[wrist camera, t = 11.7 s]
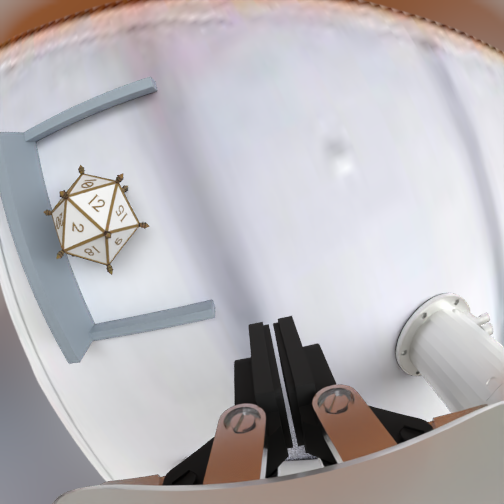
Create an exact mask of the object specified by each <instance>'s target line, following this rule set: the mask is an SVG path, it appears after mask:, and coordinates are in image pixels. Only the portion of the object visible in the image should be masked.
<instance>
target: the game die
mask: <svg viewBox="0 0 504 504" xmlns="http://www.w3.org/2000/svg"><path fill="white" fill-rule="evenodd" d="M78 170H79V173H80V174H81V175H80V176H79V177H78V178H77V180H76V181H75V182H74V183H73V185H72V186H71V187H70V188H69V190H68V191H67V192H65V190H64V191H60V197H62V199H61V200H60V201H59V202H58V204H57V205H56V206H55V208H54V209H53V210H52V211H50V210H47V209H46V211H44V213H45V215H46V216H47V215H48V216H49V215H52V218H53V222H54V225H55V229H56V232H57V236H58V239H59V242H60V245H61V248H62V250H61V251H59V252H58V253H57V258H56V259H59V258H60V259H61V258H62V256H64V253H66V254H70V255H72V257H73V256H76V257H80V258H83V259H87V260H90V261H94V262H97V263H101V264H104V265H106V266H107V268H106V269H107V270H108V271H107V272H109V273H110V274H111V275H112V271H113V269H112V266H111V265H110V263H111V262H112V261H113V259H114V258H115V257H116V255H117V254H118V253H119V251H120V250H121V249H122V247H123V246H124V245H125V244H126V242H127V241H128V240H129V238H130V237H131V236H132V235H133V233H134V232H135V231H136V230H137V228H138V227H142V228H144V229H145V228H147V227H149V225H148V224H147V223H146V222H145V223H139V221H138V219H137V217H136V215H135V213H134V211H133V209H132V207H131V206H130V204H129V202H128V200H127V198H126V196H125V194H124V192H126V191H127V188H128V186H123V188H121V186H120V184H119V183H120V182H121V181H122V180H123V174H120V175H117V176H118V177H116V181H115V180H110V179H106V178H101V177H97V176H92V175H88V174H84V171H85V170H84V167H82V166H81V165H80V167H79V169H78Z"/></svg>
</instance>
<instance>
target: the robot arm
mask: <svg viewBox="0 0 504 504" xmlns="http://www.w3.org/2000/svg"><path fill="white" fill-rule="evenodd" d="M489 320H490V316H489V314H488V313H484V314H482V315H480V316H479V317H478V318H477V317H475V316H474V315H472V314H471V313H470V308H469V305H468V303H467V302H466V301H465V300H464V299H463V298H462V297H460V296H459V295H456V294H454V293H445V294H441V295H438V296H436V297H433V298H432V299H430V300H428V301H427V302H426V303H424V304H423V305H422V306H421V307H420V308H419V309H418V310H417V311H416V312H415V313H414V314H413V315H412V316H411V317H410V319H409V320H408V321H407V323H406V325H405V326H404V328H403V330H402V332H401V334H400V336H399V339H398V343H397V347H396V358H397V362H398V364H399V366H400V367H401V368H402V370H403V371H404V372H406V373H407V374H409V375H413V376H421V375H422V376H423V377H424V378H425V380H426V381H427V382H428V383H429V385H430V386H431V387H432V389H433V390H434V391H435V392H436V394H437V395H438V396H439V398H440V399H441V400H442V402H443V403H444V404H445V405H446V407H447V408H448V409H449V411H450V412H451V414H447V415H443V416H439V417H434V418H433V420H432V421H430V422H427V421H425V420H422V419H419V418H415V417H411V416H406V415H402V414H398V413H394V412H390V411H387V410H383V409H379V408H375V407H372V406H368V405H367V404H366V402H365V401H364V400H363V398H362V397H361V396H360V394H359V393H358V392H357V391H356V390H355V389H354V388H352V387H350V386H347V385H336V382H335V380H334V378H333V375H332V373H331V371H330V368H329V366H328V364H327V361H326V359H325V357H324V354H323V352H322V350H321V347H320V345H319V344H314V345H309V346H305V347H302V344H301V341H300V338H299V335H298V332H297V330H296V327H295V324H294V321H293V318H292V316H289V317H284V318H280V319H278V323H274V324H273V326H274V331H275V336H276V341H277V346H278V352H279V357H280V362H281V367H282V373H283V378H284V383H285V387H286V392H287V397H288V401H289V406H290V410H291V415H292V420H293V424H294V429H295V434H296V438H297V443H298V446H302V445H304V447H305V451H306V453H309V454H311V455H313V456H316V457H318V461H319V464H320V466H321V468H318V469H314V470H310V471H305V472H300V473H295V474H290V475H284V476H280V473H281V470H280V465H281V464H282V463H283V462H284V460H285V459H286V458H287V457H289V456H288V450H287V448H292V447H293V444H292V439H291V434H290V429H289V424H288V419H287V413H286V408H285V403H284V398H283V393H282V388H281V383H280V378H279V373H278V368H277V363H276V358H275V353H274V349H273V344H272V339H271V334H270V329H269V325H264V326H263V322H260V323H255V324H250V325H249V336H250V348H251V358H246V359H240V360H235V362H234V386H235V406H232V407H230V408H229V409H227V410H226V411H225V412H224V413H223V414H222V415H221V416H220V419H219V421H218V425H217V429H216V433H215V437H213V438H212V439H211V440H210V441H208V442H207V443H206V444H205V445H203V446H202V447H201V448H200V449H198V450H197V451H196V452H194V453H193V454H192V455H191V456H189V457H188V458H187V459H185V460H184V461H183V462H181V463H180V464H178V465H177V466H176V467H174V468H173V469H172V470H171V471H169V472H168V473H167V474H166V476H163V477H160V476H159V475H158V474H157V475H152V476H145V477H139V478H132V479H124V480H115V481H108V482H104V483H102V484H101V485H99V486H88V487H84V488H78V489H74V490H71V491H68V492H66V493H63V494H62V495H60V496H59V497H58V498H57V499H56V500H55V501H54V502H53V503H52V504H504V347H503V346H502V345H501V344H500V343H499V342H498V341H496V340H495V339H494V338H493V337H492V336H490V335H492V334H493V326H492V325H491V323H487V322H488V321H489ZM485 323H486V324H485ZM483 324H485V325H483ZM481 325H483V326H481Z"/></svg>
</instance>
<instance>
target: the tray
mask: <svg viewBox="0 0 504 504" xmlns="http://www.w3.org/2000/svg"><path fill="white" fill-rule="evenodd" d="M156 91H157V87H156V83H155V81H154V80H153V79H152V78H151V77H147V78H144V79H141V80H138V81H136V82H133V83H130V84H127V85H124V86H122V87H119V88H116V89H114V90H111V91H109V92H106V93H104V94H101V95H99V96H97V97H94V98H92V99H90V100H87V101H85V102H83V103H81V104H78V105H76V106H74V107H72V108H70V109H68V110H66V111H63V112H61V113H59V114H57V115H55V116H53V117H51V118H50V119H48V120H46V121H44V122H42V123H40V124H38V125H36V126H35V127H33V128H31V129H29V130H27V131H26V132H24V133H21V132H0V194H1V199H2V203H3V206H4V210H5V214H6V217H7V221H8V224H9V228H10V231H11V234H12V237H13V240H14V243H15V246H16V249H17V252H18V255H19V258H20V261H21V263H22V266H23V269H24V271H25V274H26V276H27V279H28V281H29V284H30V286H31V289H32V291H33V293H34V296H35V298H36V300H37V303H38V305H39V307H40V309H41V311H42V313H43V316H44V318H45V320H46V322H47V324H48V326H49V328H50V330H51V332H52V334H53V336H54V338H55V340H56V341H57V343H58V345H59V347H60V349H61V351H62V353H63V354H64V356H65V358H66V360H67V361H68V363H69V364H70V363H79V362H80V361H81V359H82V358H83V356H84V354H85V353H86V351H87V349H88V348H89V346H90V345H91V343H92V341H96V340H102V339H108V338H114V337H120V336H126V335H131V334H137V333H142V332H148V331H153V330H158V329H163V328H168V327H173V326H178V325H183V324H188V323H193V322H198V321H202V320H207V319H212V318H215V306H214V303H213V300H209V301H205V302H200V303H196V304H191V305H187V306H182V307H178V308H173V309H168V310H163V311H159V312H154V313H149V314H144V315H139V316H134V317H129V318H124V319H119V320H114V321H109V322H104V323H99V324H95V323H94V321H93V319H92V317H91V314H90V312H89V310H88V308H87V305H86V303H85V301H84V299H83V296H82V294H81V291H80V289H79V287H78V284H77V282H76V279H75V277H74V274H73V271H72V269H71V266H70V263H69V261H68V258H67V255H66V253H64V256H62V258H61V259H60V258H59V259H56V258H57V253H58V252H59V251H61V250H62V248H61V245H60V242H59V239H58V236H57V232H56V229H55V225H54V222H53V218H52V215H49V216H48V215H47V216H46V215H45V213H44V211H46V209H47V210H50V211H52V209H51V205H50V202H49V198H48V194H47V190H46V186H45V182H44V178H43V174H42V170H41V165H40V161H39V156H38V151H37V146H36V141H38V140H40V139H42V138H44V137H46V136H48V135H50V134H52V133H54V132H56V131H58V130H60V129H62V128H64V127H66V126H68V125H70V124H73V123H75V122H77V121H79V120H81V119H84V118H86V117H88V116H91V115H93V114H95V113H98V112H100V111H103V110H105V109H108V108H110V107H113V106H116V105H118V104H121V103H124V102H126V101H129V100H132V99H135V98H138V97H141V96H143V95H146V94H150V93H153V92H156Z"/></svg>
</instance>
